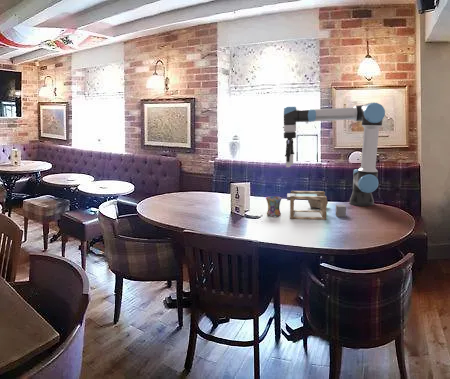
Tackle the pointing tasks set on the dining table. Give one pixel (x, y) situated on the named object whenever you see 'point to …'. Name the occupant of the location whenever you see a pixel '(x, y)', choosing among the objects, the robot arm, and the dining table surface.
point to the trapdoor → (298, 195)
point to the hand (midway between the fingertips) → (289, 165)
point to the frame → (322, 198)
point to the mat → (307, 214)
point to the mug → (273, 206)
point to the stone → (340, 211)
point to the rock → (315, 202)
